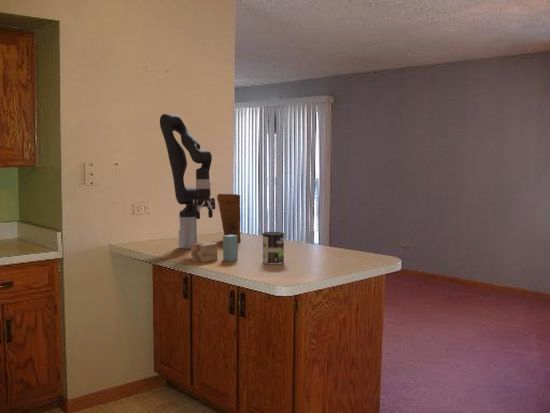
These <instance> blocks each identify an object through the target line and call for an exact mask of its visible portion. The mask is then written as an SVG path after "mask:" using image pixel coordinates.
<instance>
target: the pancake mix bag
mask: <svg viewBox="0 0 550 413" xmlns="http://www.w3.org/2000/svg"><path fill="white" fill-rule="evenodd" d="M216 200H217V203H218V209H219V214H220V219H221V225H222V230H223V236H224V235H237V236H238V243H241V242H242V241H241V195H240V194H235V193H218V194H217V195H216Z"/></svg>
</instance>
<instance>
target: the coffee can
mask: <svg viewBox="0 0 550 413" xmlns="http://www.w3.org/2000/svg"><path fill="white" fill-rule="evenodd" d="M261 235H262V263H263V264H264V265H282V264H284V263H285V232H282V231H281V232H280V231H266V232H262V233H261Z"/></svg>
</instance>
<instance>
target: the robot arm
mask: <svg viewBox="0 0 550 413" xmlns="http://www.w3.org/2000/svg"><path fill="white" fill-rule="evenodd" d="M159 125H160V126H159V127H160V130H161V133H162V136H163V139H164V143H165V146H166V149H167V150H166V151H167V155H168V156H167V157H168V161H169V164H170V168H171V174H172V179H173V187H174V194H175V200H176V201H177V203H178V204H179V205H185V207H184V208H183V209H181V210H180V211H179V214H178V216H179V230H178V248H180V249H190V250H191V244H192V243H198V240H197V238H198V236H197V234H198V233H197V230H198V229H197V228H198V227H197V226H198V225H197V223H198V222H197V220H200V219H201V212H200V211H201V210H202V208H205V207H206V208H207V210H208V211H207V214H208V218H210V219H211V218H213V213H214V212H213V211H214V210H215V209H216V199H215V197H211V182H210V169H211V165H212V161H213V160H212V158H213V156H212V153H211V151H209V150H207V149H201V144H200V143H199V142H198V141H197V140H196V138H195V137H194V136H193V135H192V134H191V132H190V131H189V129H188V128H187V126H186V124H185V123H184V121H183V120H182V118H181V116H179V115H178V114H175V113H164V114H162V115H161V116H160V118H159ZM174 132H176V133H178V134H179V135H180V141H181V144H182V146H183V147H184V148H185V149H186V151H187V152H188V154H189V155H190V158H191V160H192V161H193V163H194V164H195V163H196V164H201V166H200V167H199V168H197V169H196V170H195V187H192V186H188V187H187V186H185V181H184V180H185V179H184V176H185V173H186V170H187V166H188V161H187V156H186V152H185V149H184V148H183V147H182V146H181V144H180V143H179V142H178V140H177V139H176V137H175V134H174Z"/></svg>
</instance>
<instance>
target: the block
mask: <svg viewBox="0 0 550 413" xmlns="http://www.w3.org/2000/svg"><path fill="white" fill-rule="evenodd" d="M190 257H191V258H190V260H191V261H195V262H200V263H207V262H212V261H217V260H218V242H211V241H199V242H197V243H192V244H191V248H190Z"/></svg>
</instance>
